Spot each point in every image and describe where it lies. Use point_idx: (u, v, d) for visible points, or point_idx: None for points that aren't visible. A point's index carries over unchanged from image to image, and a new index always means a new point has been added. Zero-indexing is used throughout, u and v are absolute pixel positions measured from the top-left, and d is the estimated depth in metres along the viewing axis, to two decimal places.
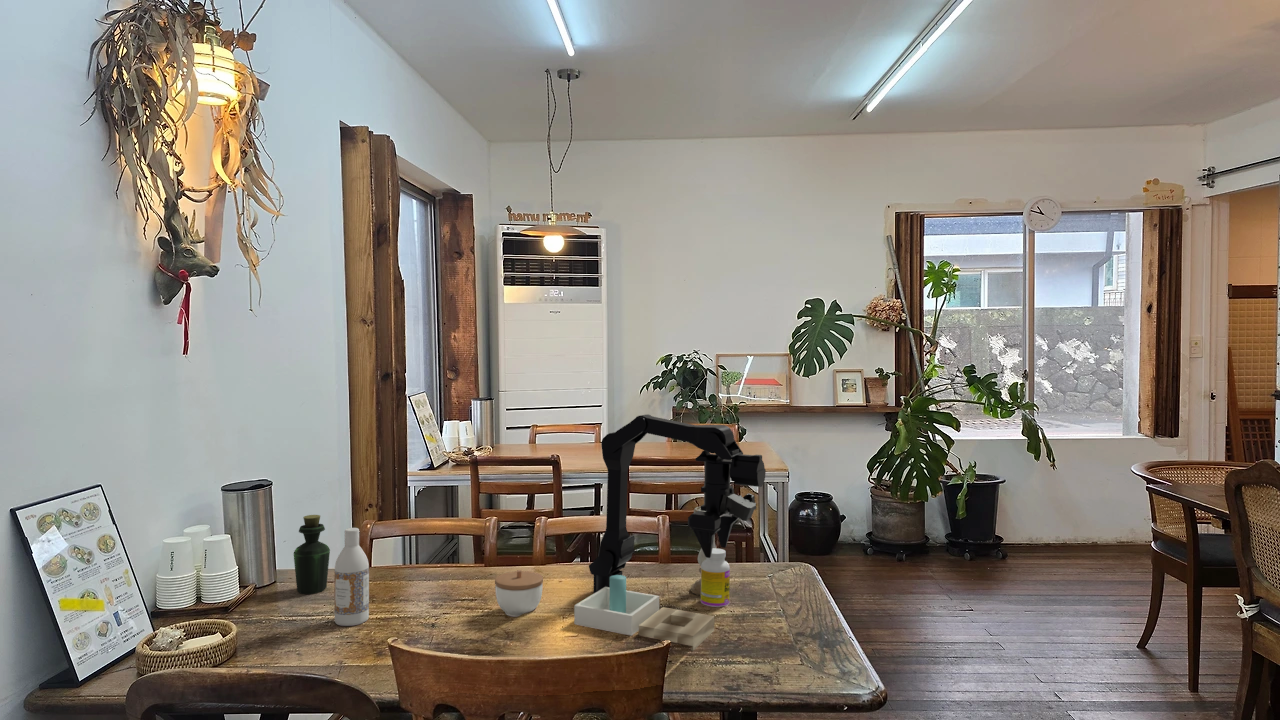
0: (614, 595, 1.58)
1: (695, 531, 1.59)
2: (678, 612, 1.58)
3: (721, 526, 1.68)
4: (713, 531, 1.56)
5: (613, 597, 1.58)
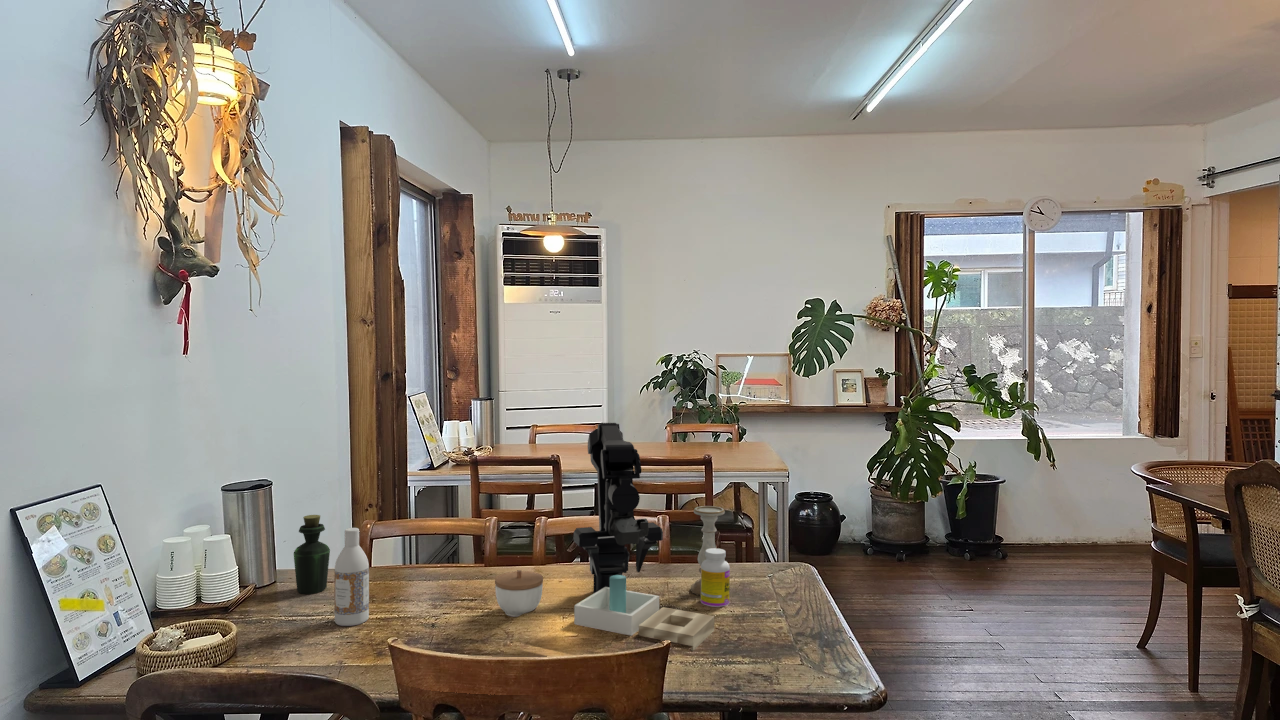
0: (614, 595, 1.58)
1: None
2: (678, 612, 1.58)
3: (638, 549, 1.62)
4: (585, 549, 1.54)
5: (613, 597, 1.58)
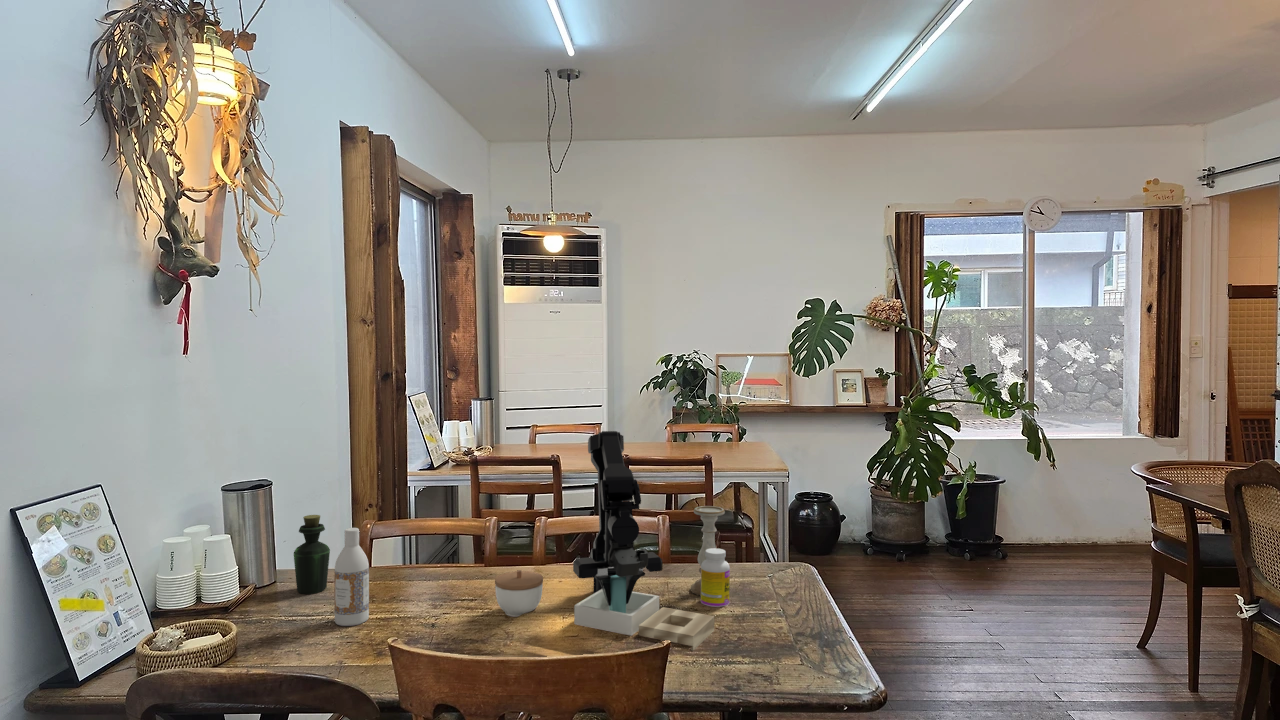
0: (614, 595, 1.58)
1: None
2: (678, 612, 1.58)
3: (626, 580, 1.61)
4: (597, 579, 1.55)
5: (613, 597, 1.58)
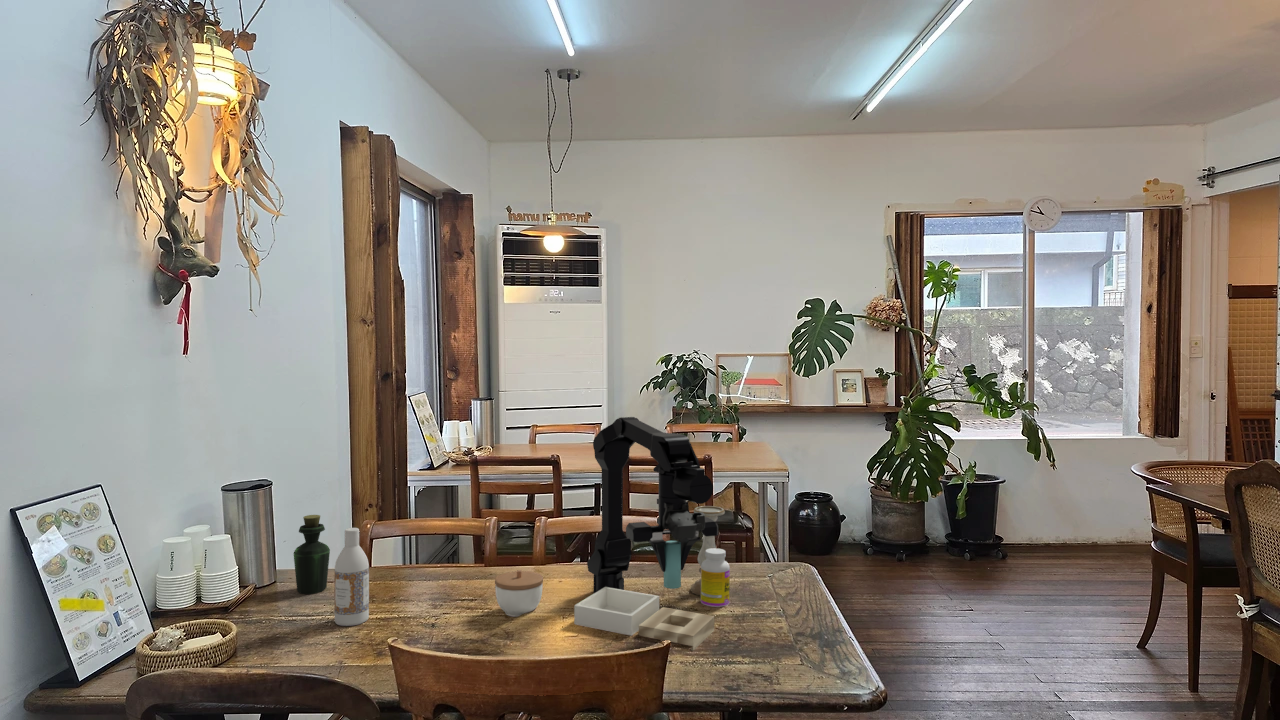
0: (668, 561, 1.52)
1: None
2: (678, 612, 1.58)
3: None
4: (652, 543, 1.49)
5: (668, 562, 1.52)
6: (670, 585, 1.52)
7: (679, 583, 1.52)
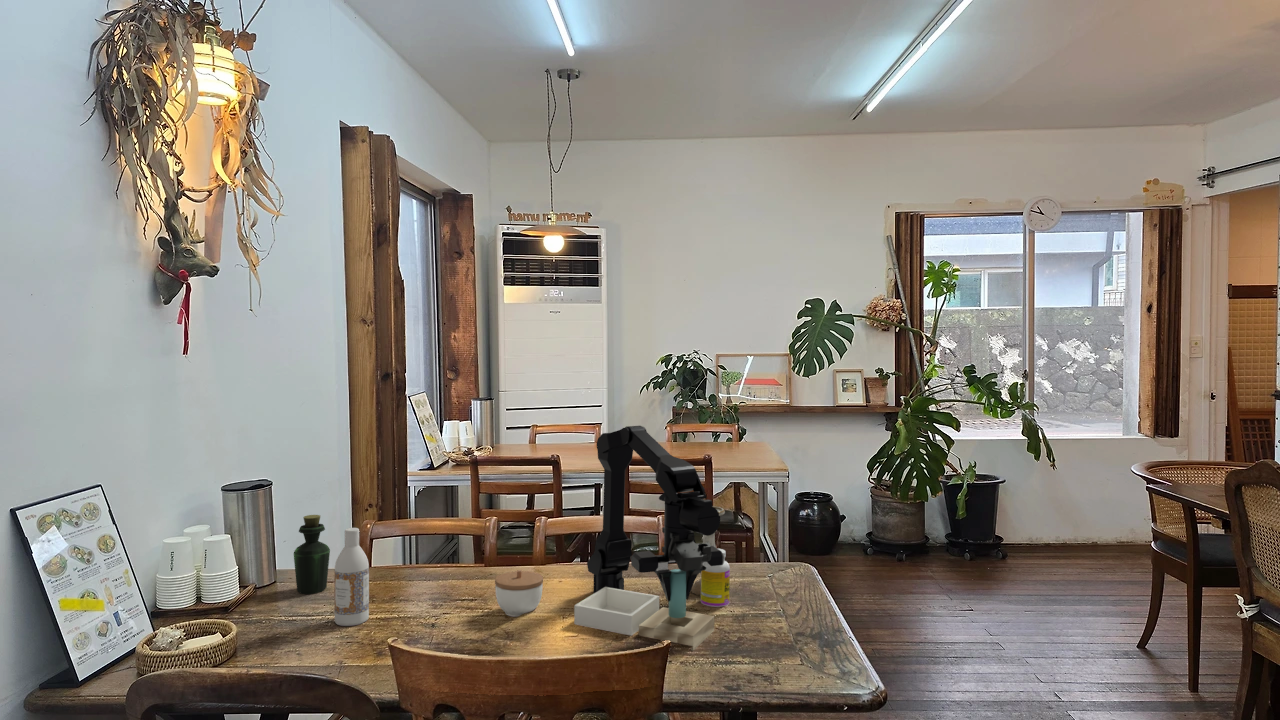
0: (674, 590, 1.52)
1: None
2: None
3: (686, 575, 1.55)
4: (658, 573, 1.49)
5: (673, 592, 1.52)
6: (675, 615, 1.52)
7: (684, 612, 1.52)
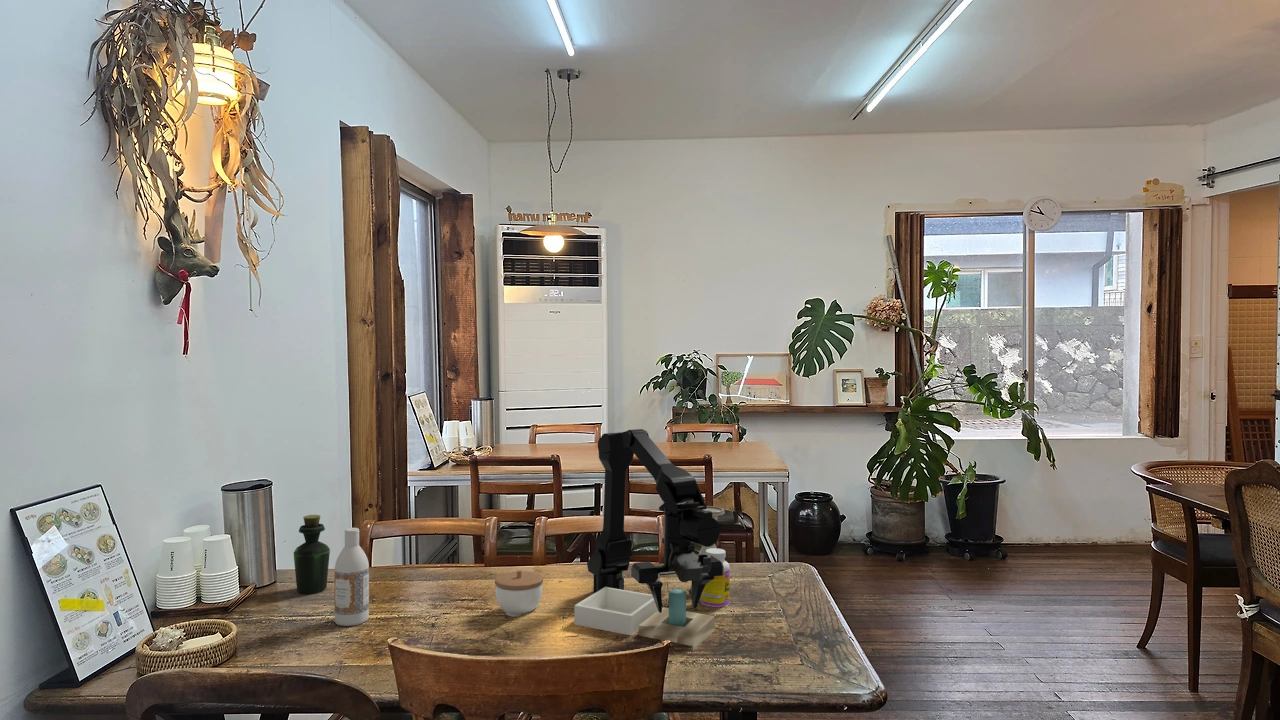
0: (674, 611, 1.52)
1: None
2: None
3: (694, 585, 1.55)
4: (649, 585, 1.49)
5: (673, 612, 1.52)
6: None
7: None
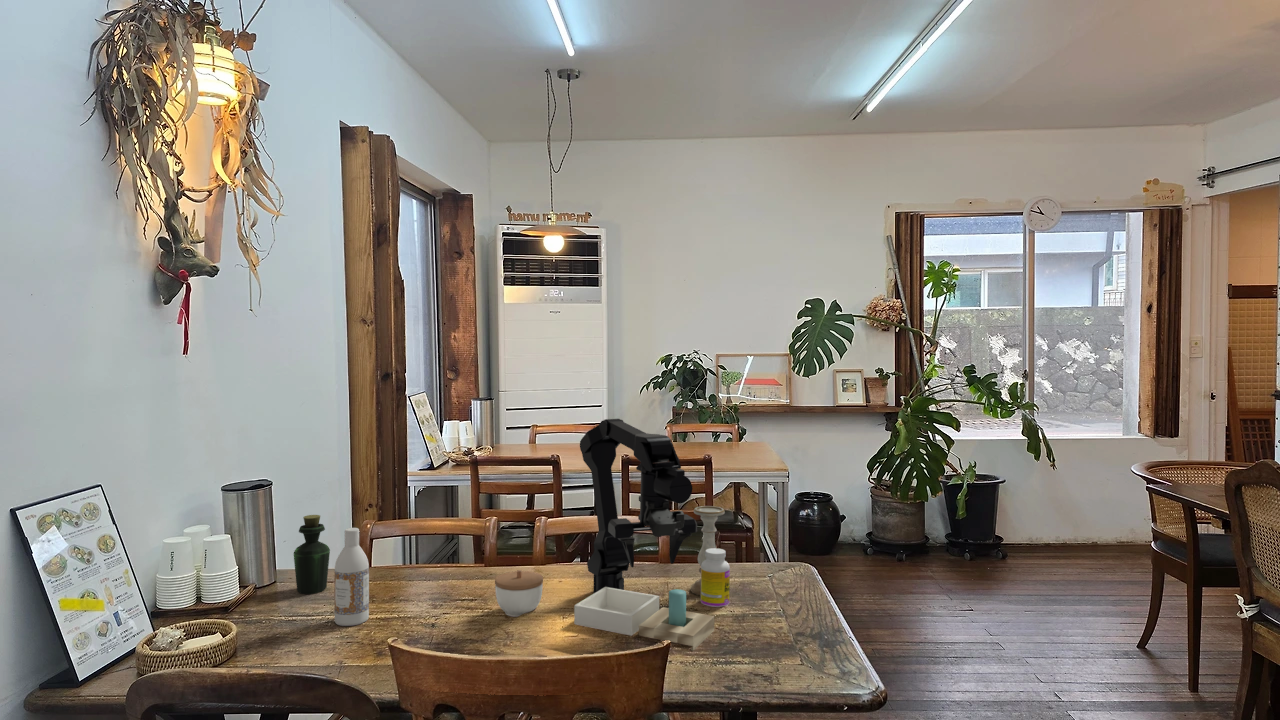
0: (674, 611, 1.52)
1: None
2: None
3: (672, 541, 1.62)
4: (621, 540, 1.55)
5: (673, 612, 1.52)
6: None
7: None
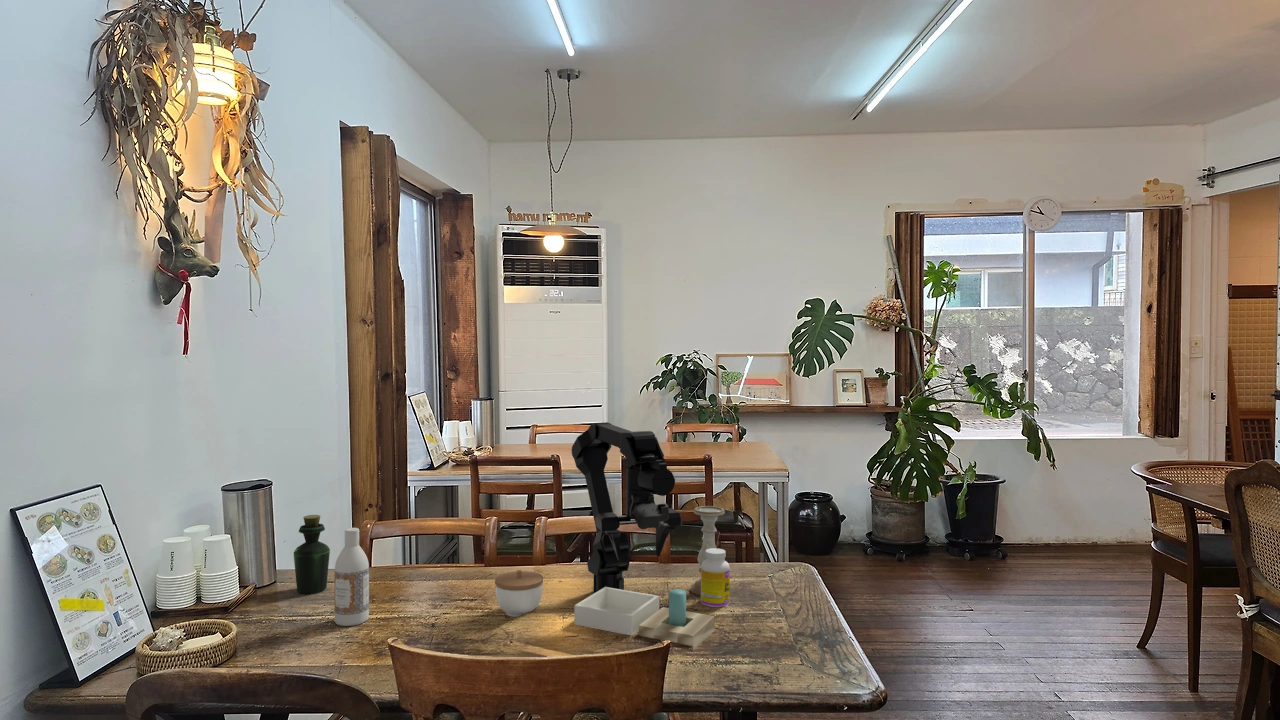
0: (674, 611, 1.52)
1: None
2: None
3: (658, 534, 1.66)
4: (607, 533, 1.59)
5: (673, 612, 1.52)
6: None
7: None
